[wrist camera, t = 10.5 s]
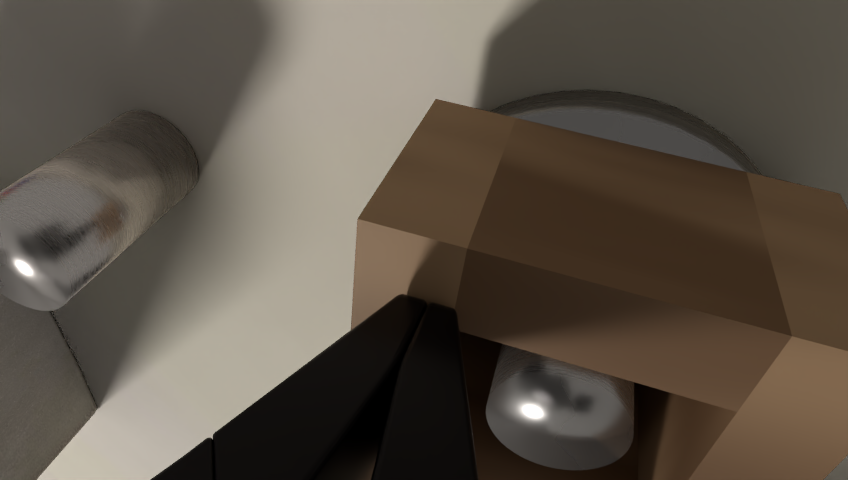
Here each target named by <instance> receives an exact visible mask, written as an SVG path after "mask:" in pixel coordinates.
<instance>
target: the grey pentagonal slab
mask: <svg viewBox="0 0 848 480" xmlns="http://www.w3.org/2000/svg"><path fill="white" fill-rule="evenodd" d="M96 410H97V406H96V404H95V401H94V399H93V397H92V395H91V392H90V390H89V388H88V386H87V384H86V381H85V379H84V377H83V375H82V372H81V370H80V368H79V366H78V364H77V361H76V360H75V358H74V356H73V354H72V352H71V350H70V348H69V346H68V344H67V342H66V341H65V339H64V337H63V335H62V333H61V331H60V329H59V327H58V325H57V323H56V322H55V320H54V318H53V316H52V314H51V312H50V311H40V310H35V309H32V308H28V307H26V306H23V305H21V304H18V303H16V302H14V301H13V300H11V299H9V298H7V297H6V296H4V295H3V294H1V293H0V480H37V478H38V477H39V476H40V475H41V474H42V473H43V472H44V470H45V469H46V468H47V467H48V466H49V465H50V464H51V462H52V461H53V460H54V459H55V458H56V457H57V456H58V454H59V453H60V452H61V451H62V450H63V449H64V447H65V446H66V445H67V444H68V443H69V442H70V441H71V440H72V438H73V437H74V436H75V435H76V434H77V433H78V432H79V430H80V429H81V428H82V427H83V426H84V425H85V424H86V422H87V421H88V420H89V419H90V418H91V417H92V416H93V414H94V413H95V411H96Z"/></svg>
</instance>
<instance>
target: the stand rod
mask: <svg viewBox="0 0 848 480" xmlns="http://www.w3.org/2000/svg"><path fill="white" fill-rule="evenodd" d="M198 175H199V168H198V163H197V159H196V156H195V154H194V151H193V150H192V148H191V146H190V144H189V143H188V141H187V140H186V139H185V137H184V136H183V135H182V134H181V133H180V132H179V131H178V130H177V129H176V128H175V127H174V126H173V125H172V124H170V123H169V122H168V121H166V120H164V119H163V118H161V117H159V116H157V115H155V114H152V113H149V112H145V111H129V112H126V113H124V114H122V115H120V116H119V117H117V118H116V119H114V120H112V121H111V122H109V123H108V124H106V125H105V126H103V127H101V128H100V129H98V130H97V131H95V132H93V133H92V134H90V135H89V136H87V137H86V138H84V139H82V140H81V141H79V142H78V143H76V144H74V145H73V146H71V147H70V148H68V149H67V150H65V151H63V152H62V153H60V154H59V155H57V156H55V157H54V158H52V159H51V160H49V161H48V162H46V163H44V164H43V165H41V166H40V167H38V168H36V169H35V170H33V171H32V172H30V173H28V174H27V175H25V176H24V177H22V178H21V179H19V180H17V181H16V182H14V183H13V184H11V185H9V186H8V187H6V188H5V189H3V190H2V191H0V293H1V294H3V295H4V296H6V297H7V298H9V299H11V300H13V301H14V302H16V303H18V304H21V305H23V306H26V307H28V308H32V309H35V310H40V311H53V310H57V309H59V308H61V307H62V306H63V305H64V304H65V303H67V302H68V301H69V300H70V299H71V298H72V297H73V296H74V295H76V294H77V293H78V292H79V291H80V290H81V289H82V288H83V287H84V286H86V285H87V284H88V283H89V282H90V281H91V280H92V279H93V278H94V277H96V276H97V275H98V274H99V273H100V272H101V271H102V270H103V269H104V268H106V267H107V266H108V265H109V264H110V263H111V262H112V261H113V260H114V259H116V258H117V257H118V256H119V255H120V254H121V253H122V252H123V251H124V250H126V249H127V248H128V247H129V246H130V245H131V244H132V243H133V242H135V241H136V240H137V239H138V238H139V237H140V236H141V235H142V234H143V233H145V232H146V231H147V230H148V229H149V228H150V227H151V226H152V225H153V224H155V223H156V222H157V221H158V220H159V219H160V218H161V217H162V216H163V215H165V214H166V213H167V212H168V211H169V210H170V209H171V208H172V207H173V206H175V205H176V204H177V203H178V202H179V201H180V200H181V199H182V198H183V197H185V196H186V195H187V194H188V193H189V192H190V191H191V190H192V189H193V188H194V187H195V185H196V183H197V180H198Z"/></svg>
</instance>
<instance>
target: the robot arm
mask: <svg viewBox="0 0 848 480" xmlns="http://www.w3.org/2000/svg"><path fill="white" fill-rule="evenodd" d="M151 480H479V479H478V471H477V463H476V456H475V448H474V440H473V433H472V425H471V417H470V410H469V402H468V394H467V386H466V379H465V371H464V363H463V356H462V348H461V340H460V333H459V325H458V317H457V312H456V310H455V309H453V308H451V307H447V306H444V305H440V304H437V303H433V302H431V303H429V304H428V305H427V303H426V301H425V300H423V299H420V298H416V297H413V296H409V295H406V294H399V295H397V296H396V297H394V298H393V299H392V300H390V301H389V302H388V303H387V304H385V305H384V306H383V307H381V308H380V309H379V310H377V311H376V312H375V313H373V314H372V315H371V316H369V317H368V318H367V319H365V320H364V321H363V322H361V323H360V324H359V325H357V326H356V327H355V328H353V329H352V330H351V331H349V332H348V333H347V334H345V335H344V336H343V337H341V338H340V339H339V340H337V341H336V342H335V343H333V344H332V345H331V346H329V347H328V348H327V349H325V350H324V351H323V352H321V353H320V354H319V355H317V356H316V357H315V358H313V359H312V360H311V361H309V362H308V363H307V364H305V365H304V366H303V367H302V368H300V369H299V370H298V371H296V372H295V373H294V374H292V375H291V376H290V377H288V378H287V379H286V380H284V381H283V382H282V383H280V384H279V385H278V386H276V387H275V388H274V389H272V390H271V391H270V392H268V393H267V394H266V395H264V396H263V397H262V398H260V399H259V400H258V401H256V402H255V403H254V404H252V405H251V406H250V407H248V408H247V409H246V410H244V411H243V412H242V413H240V414H239V415H238V416H236V417H235V418H234V419H232V420H231V421H230V422H228V423H227V424H226V425H224V426H223V427H222V428H220V429H219V430H218V431H217V432H215V433H214V434H213V440H212V438H207V439H205V440H204V441H203V442H201V443H200V444H199V445H197V446H196V447H195V448H194V449H192V450H191V451H190V452H188V453H187V454H186V455H184V456H183V457H182V458H180V459H179V460H177V461H176V462H175V463H173V464H172V465H170V466H169V467H168V468H166V469H165V470H163V471H162V472H161V473H159V474H158V475H156V476H155V477H154V478H152V479H151Z"/></svg>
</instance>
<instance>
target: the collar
mask: <svg viewBox="0 0 848 480" xmlns="http://www.w3.org/2000/svg"><path fill="white" fill-rule="evenodd" d="M399 294H406V295H409V296H413V297H416V298H420V299H423V300H425V301H426V303H427V305H428V304H429V303H431V302H433V303H437V304H440V305H444V306H447V307H451V308H453V309H455V310H456V312H457V317H458V325H459V333H460V340H461V348H462V356H463V363H464V371H465V379H466V386H467V394H468V402H469V410H470V417H471V425H472V433H473V440H474V448H475V456H476V463H477V471H478V479H479V480H823V479H824V478H825V477H826V476H827V475H828V474H829V473H830V472H831V471H832V470H833V469H834V468H835V467H836V466H837V465H838V464H839V463H840V462H841V461H842V460H843V459H844V458H845V457H846V456H847V455H848V210H847V208H846V206H845V204H844V202H843V199H842V197H841V195H840V194H838V193H834V192H830V191H825V190H821V189H817V188H813V187H808V186H804V185H800V184H795V183H791V182H787V181H783V180H778V179H774V178H770V177H766V176H761V175H757V174H753V173H749V172H744V171H740V170H736V169H732V168H727V167H723V166H719V165H715V164H710V163H706V162H702V161H697V160H693V159H689V158H685V157H680V156H676V155H672V154H668V153H663V152H659V151H655V150H651V149H646V148H642V147H638V146H634V145H629V144H625V143H621V142H617V141H612V140H608V139H604V138H599V137H595V136H591V135H587V134H582V133H578V132H574V131H570V130H565V129H561V128H557V127H553V126H548V125H544V124H540V123H536V122H531V121H527V120H523V119H519V118H514V117H510V116H506V115H502V114H497V113H493V112H489V111H485V110H480V109H476V108H472V107H467V106H463V105H459V104H455V103H450V102H446V101H442V100H438V99H436V100H435V101H434V103H433V104H432V106H431V107H430V109H429V110H428V112H427V114H426V115H425V117H424V118H423V120H422V121H421V123H420V124H419V126H418V127H417V129H416V130H415V132H414V133H413V135H412V136H411V138H410V140H409V141H408V143H407V144H406V146H405V147H404V149H403V150H402V152H401V153H400V155H399V156H398V158H397V159H396V161H395V162H394V164H393V166H392V167H391V169H390V170H389V172H388V173H387V175H386V176H385V178H384V179H383V181H382V182H381V184H380V185H379V187H378V188H377V190H376V192H375V193H374V195H373V196H372V198H371V199H370V201H369V202H368V204H367V205H366V207H365V208H364V210H363V211H362V213H361V214H360V216H359V217H358V221H357V237H356V254H355V271H354V287H353V304H352V321H351V330H352V329H353V328H355V327H356V326H357V325H359V324H360V323H361V322H363V321H364V320H365V319H367V318H368V317H369V316H371V315H372V314H373V313H375V312H376V311H377V310H379V309H380V308H381V307H383V306H384V305H385V304H387V303H388V302H389V301H390V300H392V299H393V298H394V297H396V296H397V295H399ZM502 344H505V345H508V346H512V347H515V348H519V349H522V350H526V351H529V352H533V353H536V354H539V355H543V356H546V357H550V358H553V359H557V360H560V361H563V362H567V363H570V364H574V365H577V366H581V367H584V368H587V369H591V370H594V371H598V372H601V373H605V374H608V375H611V376H615V377H618V378H622V379H625V380H629V381H632V382H634V435H633V441H632V444H631V446H630V448H629V450H628V451H627V452H626V453H625V454H624V455H623V456H622V457H621V458H620V459H618V460H616V461H615V462H613V463H611V464H608V465H606V466H603V467H600V468H595V469H589V470H562V469H556V468H551V467H547V466H543V465H540V464H537V463H534V462H532V461H529V460H527V459H525V458H523V457H521V456H519V455H517V454H516V453H514V452H513V451H511V450H510V449H508V448H507V447H506V446H505V445H504V444H502V443H501V442H500V441H499V440H498V438H497V437H496V436H495V435H494V433H493V432H492V430H491V429H490V427H489V425H488V422H487V418H486V405H487V401H488V397H489V393H490V389H491V385H492V381H493V377H494V373H495V369H496V365H497V361H498V357H499V353H500V349H501V345H502Z"/></svg>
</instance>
